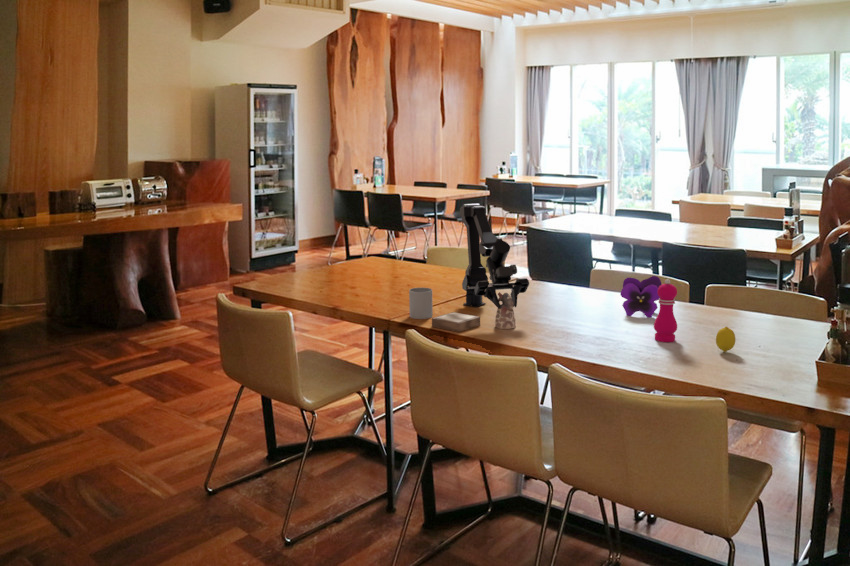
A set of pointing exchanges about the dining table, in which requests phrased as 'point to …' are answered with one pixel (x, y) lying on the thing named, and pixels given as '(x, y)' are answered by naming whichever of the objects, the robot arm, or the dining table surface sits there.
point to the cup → (420, 303)
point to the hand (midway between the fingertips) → (507, 307)
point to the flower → (640, 295)
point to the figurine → (505, 312)
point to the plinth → (455, 321)
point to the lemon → (725, 339)
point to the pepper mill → (666, 313)
